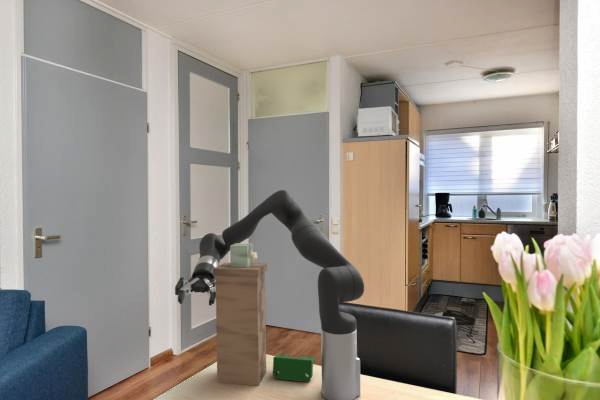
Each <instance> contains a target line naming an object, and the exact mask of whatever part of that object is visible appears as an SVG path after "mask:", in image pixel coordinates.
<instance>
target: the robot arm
mask: <svg viewBox="0 0 600 400" xmlns="http://www.w3.org/2000/svg"><path fill="white" fill-rule="evenodd" d="M270 214H272V216H274V217H275V218H276V219H277V220H278V221H279V222H280V223H281V224H283V225H284V227H286V228H287V230H288V231H289V232H290V234H291V235H290V237H291V241H292V243H293V245H294V247H295V248H296V249H297V251H298V252H299V254H300V256H301V257H303V258H304V259H305V260H306V261H308V262H310V263H312V264H314V265H316V266H318V267H321V268H322V269H321V270H320V272H319V273H318V276H317V277H318V278H317V295H318V315H319V319H320V334H321V335H320V338H321V339H320V340H321V341H320V342H321V350H320V351H321V353H320V355H321V395H322V397H323V398H324V399H326V400H355V399H356V398H357V397H360V396H361V359H360V358H359V357H358V346H357V345H358V343H357V340H358V339H357V338H358V337H357V334H358V333H357V331H358V330H357V327H358V326H357V325H358V323H357V319H356V317H355V316H354V315H352V314H350V313H347V312H345V311H341V310H340V306H339V305H340V304H342V303H348V302H354V301H357V300H359V299H360V298H361V297H362V296H363V294H364V292H365V283H364V280H363V277H362V275H361V273H360V272H359V270H358V269H357V268H356V266H355V265H354V264H352V263H351V262H350V260H348V259H347V258H346V257H345V255H342V253H340V251H339V250H338V249H337V248H336V247H335V246H334V244H332V243H331V242H330V240H329V239H328V238H327V237H326V235H325V234H324V233H323V231H322V230H321V229H320V228H319V227H318V226H317V224H315V223H314V222H313V221H311V220H310V219H309V218H308V217H307V216H306V214H305V212H304V210H303V208H302V207H301V205H300V204H299V202H298V201H297V200H296V199H295V198H294V197H293V196H292V195H291V193H290V192H288V191H287V190H285V189H280V190H277V191H276V192H273V193H272V194H270V196H268V197H266V199H265V200H263V201H262V202H261V203H259V204H258V205H257V206H256V207H255V208H254V209H253V210H251V211H250V212H249V213H248V214H247V215H245V217H243V218H242V219H240V220H238V221H237V222H235V223H234V224H232V225H230V226H228V227H227V228H225V229H224V230H223V231H222V233H221V235H222V240H221V238H220V237H219V236H218V235H217V234H216V233H212V232H210V233H206V234H205V235H204V236H203V237H202V238H201V240H200V241H199V247H198V248H199V258H198V261H197V262H196V264H195V266H194V269H193V271H192V274H191V276H190V278H189V279H188V280H187V279H185V278H184V277H182V276H181V277H179V279H178V281H177V283H176V285H175V287H174V295H175V296H177V302H178V304H179V305H182V304H183V303H184V300H185V296H187V295H191V294H193V293H203V294H205V293H206V294H207V295H208V296H209V299H208V306H212V305H214V304H215V303H216V276H213V268H215V267H217V266H219V265H220V262H221V260H222V259H224V258H225V257H226V256H227V254H228V253H230V246H231V245H233V244H236V243H242V242H244V241H246V240H247V239H249V238H250V237H252V235H253V234H254V232H255V231H256V229H257V227H258V225H259V223H260V221H261V220H262V219H263V218H265V217H266V216H268V215H270Z"/></svg>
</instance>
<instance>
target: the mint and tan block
mask: <svg viewBox="0 0 600 400" xmlns="http://www.w3.org/2000/svg"><path fill="white" fill-rule="evenodd" d="M253 248H254V246H253V242H252V243H247V242H245V243H242V242H241V243H236V244H233V245H231V246H230V251H229V253H230V254H229V255H230V263H231V267H249V266H250V265H252V264H253V263H254V261H256V260H257V259H258V252H257V251H254V249H253Z"/></svg>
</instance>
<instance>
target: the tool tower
mask: <svg viewBox="0 0 600 400" xmlns="http://www.w3.org/2000/svg"><path fill="white" fill-rule="evenodd" d="M267 271H268V263H264V262H263V263H262V262H261V263H260V262H258V263H255V262H253V264H252V265H250V266H249V267H231V262H223V263H222V264H219V266H217V267H215V268H213V276H216V279H215V282H216V286H215V289H216V298H215V312H216V313H215V314H216V317H215V318H216V321H215V323H216V324H215V325H216V327H215V328H216V375H217V377H216V379H217V383H220V384H222V383H223V384H224V383H225V384H234V385H235V384H237V385H249V386H260V384H261V382H262V380H263V379H264V377H265V375H266V373H267V331H266V330H267V329H266V321H267V320H266V317H267V316H266V272H267Z"/></svg>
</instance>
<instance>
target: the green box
mask: <svg viewBox="0 0 600 400" xmlns="http://www.w3.org/2000/svg"><path fill="white" fill-rule="evenodd" d="M290 355H291V354H284V353H283V354H282V353H280V354H277V355H275V356H273V361H272V376H273V377H274V378H275V379H278V380H287V381H297V382H310V381H311V380H312V378H313V376H314V364H315V363H316V362H315V361H316V358H315V357H314V356H309V355H308V356H306V355H304V356H302V357H301V356H300V357H298V356H297V357H295V356H290Z"/></svg>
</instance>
